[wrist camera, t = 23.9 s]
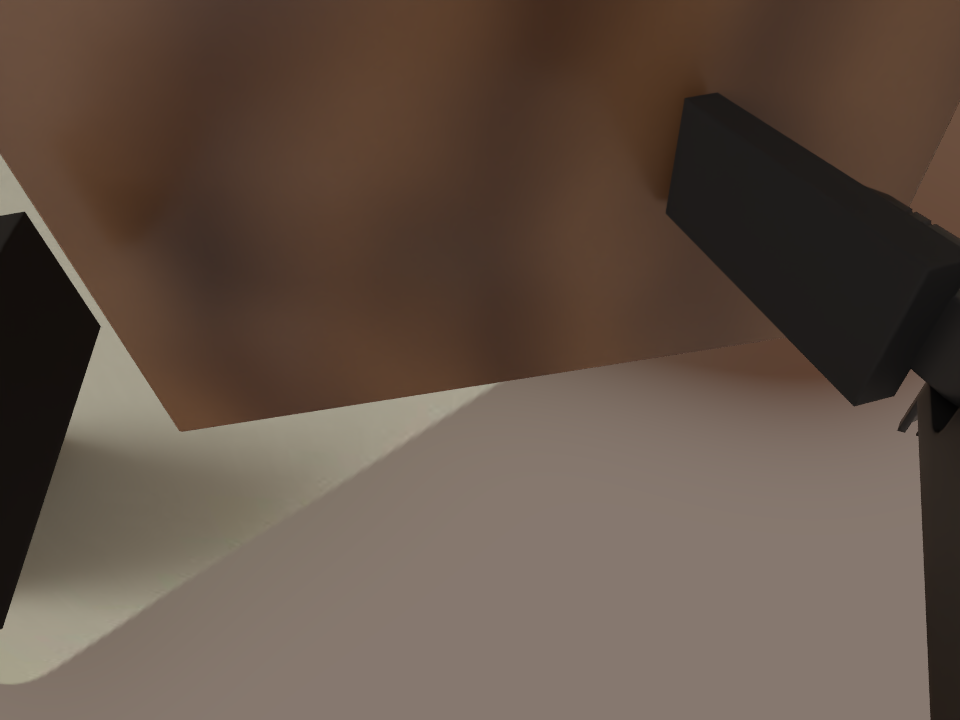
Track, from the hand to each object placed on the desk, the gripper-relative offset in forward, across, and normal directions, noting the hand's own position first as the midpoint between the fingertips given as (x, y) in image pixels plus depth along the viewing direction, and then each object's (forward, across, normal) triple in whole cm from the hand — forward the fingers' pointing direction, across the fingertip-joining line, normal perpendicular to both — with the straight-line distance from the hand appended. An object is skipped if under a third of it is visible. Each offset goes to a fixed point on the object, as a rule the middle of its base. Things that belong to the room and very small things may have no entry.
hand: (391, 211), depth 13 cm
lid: (+1, +3, 0) cm, 3 cm away
